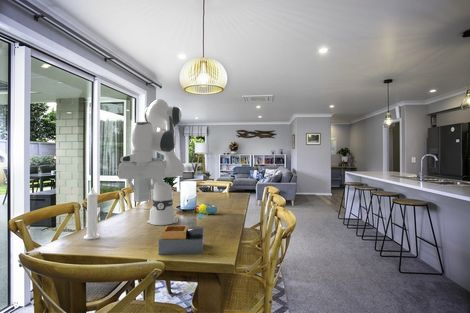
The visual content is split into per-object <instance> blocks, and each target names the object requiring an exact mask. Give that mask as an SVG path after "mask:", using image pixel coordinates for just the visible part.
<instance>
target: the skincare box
mask: <svg viewBox="0 0 470 313" xmlns="http://www.w3.org/2000/svg"><path fill="white" fill-rule="evenodd" d="M133 185H134V189H133V201H134V202H137V203H142V202H147V201H148V202H149V201H151V200H152V197H151V196H152V194H151V191H152V189H150V185H152V184H151V179H144V174H136V175H135V179H133Z"/></svg>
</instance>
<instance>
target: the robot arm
mask: <svg viewBox="0 0 470 313" xmlns="http://www.w3.org/2000/svg"><path fill="white" fill-rule="evenodd" d="M143 113H144V114H143V115H144V119H145V121H136V122H135V123H133V125H132V126H133V127H132V134H131V142H132V148H131V153H130V154H127V155H124V156H120V158H119V159H120V160H119V161H120V163H119V165H118V167H117V168H118V169H117V177H118V179H120V180H127V182H128V184H129V186H130V188H129V189H130V190H134V179H135V175H136V174H144V179H151V185H150V189H151V190H152V192H153V194H152V195H153V199H152V201H151V203H152V207H151V208H150V210H149V219H148V220H146V223H147V224H151V225H153V226H168V225H171V224H176V223H179V218H178V216H177V214H176V213H175V212H176V211H175V208H174V205H173V203H174V202H173V200H174V199H173V187H172V186H171V184H169V183H167V182H165V181H164V179H165V178H175V177H176V178H177V177H181V176H182V175H183V174H184V172H185V164H184V163H183V161H181V159H179V158H178V157H177V155H176V153H175V148H176V144H177V141H176V136H175V129H174V128H175V127H176V125H179V124H180V122H181V120H182V111H181V109H180V108H179V107H177V106H169V104H168V102H167V101H166V100H164V99H162V98H157V99H155V100H154V101H152V103H150V105H149V106H147V107H146V108H145V109H144V112H143ZM153 127H154V128H156V130H153ZM154 152H157V153H158V154H160V155H162V156H163V157H164V158H163V157H159V158H158V157H154Z"/></svg>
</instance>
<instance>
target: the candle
mask: <svg viewBox="0 0 470 313" xmlns="http://www.w3.org/2000/svg"><path fill="white" fill-rule="evenodd" d="M86 195H87V196H86V235H84V236H83V240H85V241H86V240H95V239H99V238H100V236H101V235H100V234H99V233H98V196H99V195H98V192H96V191H95V189H94V187H91V190H90V191H89V193H87V194H86Z"/></svg>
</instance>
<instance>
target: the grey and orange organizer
mask: <svg viewBox="0 0 470 313" xmlns="http://www.w3.org/2000/svg"><path fill="white" fill-rule="evenodd" d="M204 232H205V231H204V227H202V226H197V225H194V226H189V225H165V227H164V228H163V229H162V232H161V235H160V237H159V239H158V255H160V256H161V255H163V256H164V255H203V251H204V250H203V249H204V242H205V240H204V239H205V238H204V235H205V233H204Z"/></svg>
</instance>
